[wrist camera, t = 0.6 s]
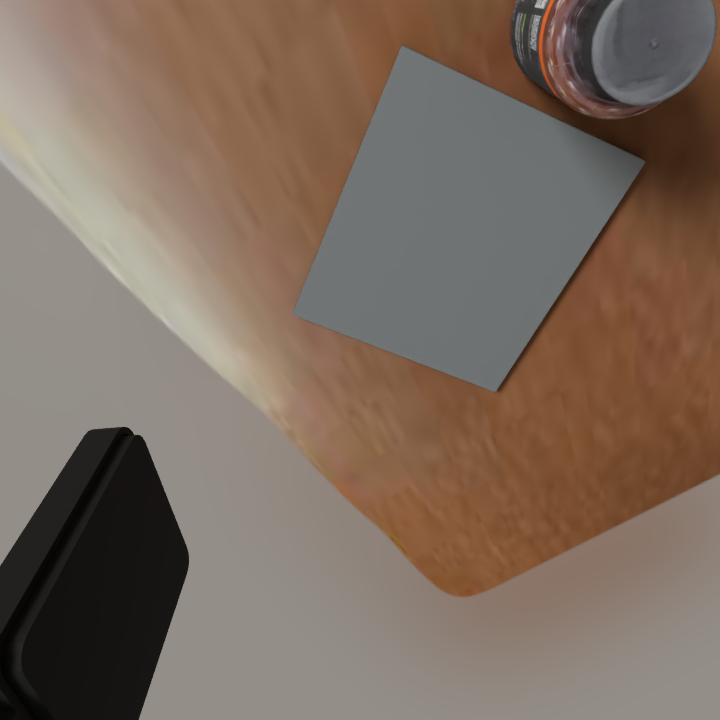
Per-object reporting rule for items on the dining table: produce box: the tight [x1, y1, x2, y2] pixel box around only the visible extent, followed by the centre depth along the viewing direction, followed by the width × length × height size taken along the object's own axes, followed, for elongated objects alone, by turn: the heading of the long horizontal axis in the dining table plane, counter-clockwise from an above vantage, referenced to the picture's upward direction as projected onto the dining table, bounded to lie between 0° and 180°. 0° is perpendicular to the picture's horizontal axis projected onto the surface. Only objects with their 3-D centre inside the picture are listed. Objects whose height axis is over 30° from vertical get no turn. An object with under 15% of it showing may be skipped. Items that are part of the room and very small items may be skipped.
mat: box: [293, 45, 646, 392], centre depth 36 cm, size 16×14×1 cm
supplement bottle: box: [510, 0, 717, 120], centre depth 25 cm, size 6×6×11 cm
